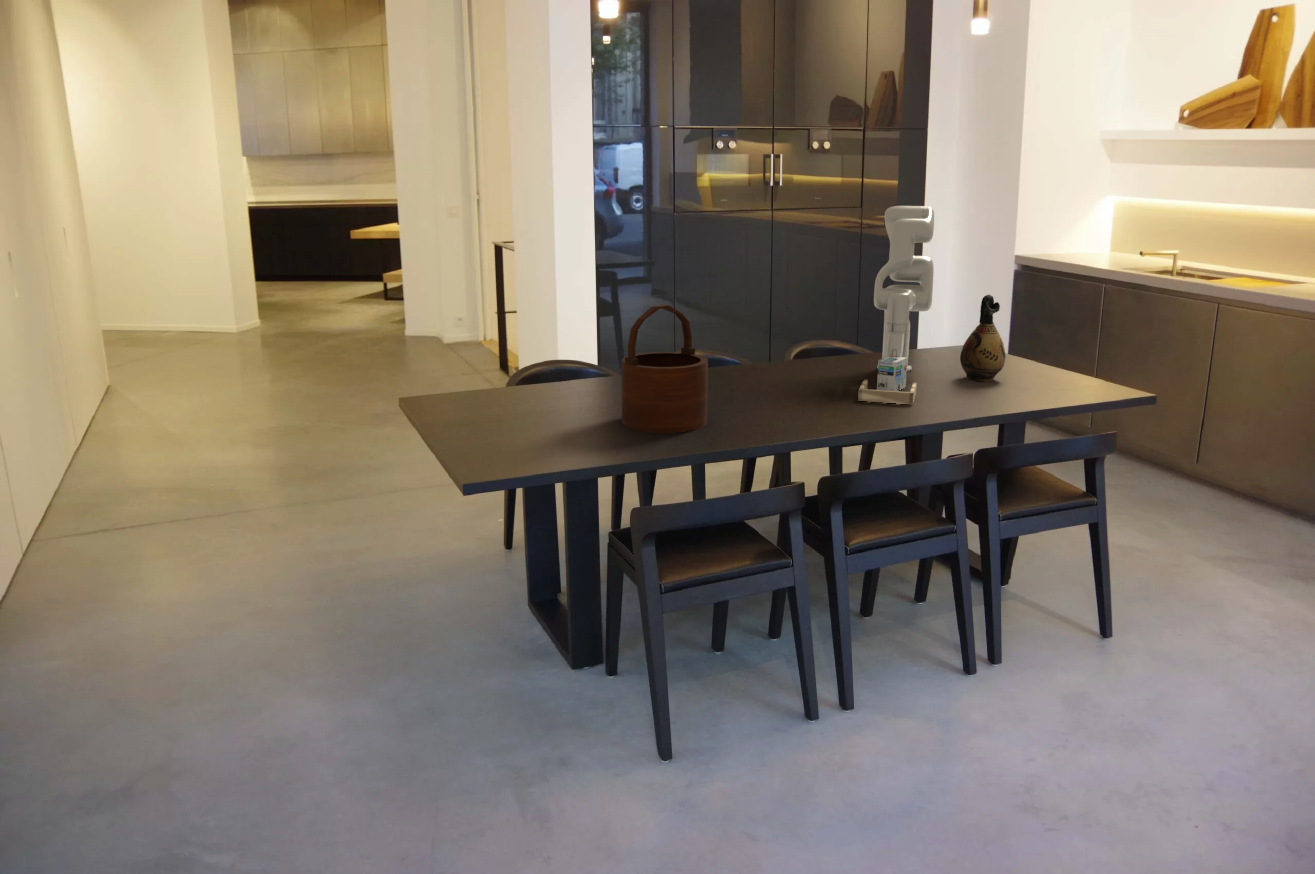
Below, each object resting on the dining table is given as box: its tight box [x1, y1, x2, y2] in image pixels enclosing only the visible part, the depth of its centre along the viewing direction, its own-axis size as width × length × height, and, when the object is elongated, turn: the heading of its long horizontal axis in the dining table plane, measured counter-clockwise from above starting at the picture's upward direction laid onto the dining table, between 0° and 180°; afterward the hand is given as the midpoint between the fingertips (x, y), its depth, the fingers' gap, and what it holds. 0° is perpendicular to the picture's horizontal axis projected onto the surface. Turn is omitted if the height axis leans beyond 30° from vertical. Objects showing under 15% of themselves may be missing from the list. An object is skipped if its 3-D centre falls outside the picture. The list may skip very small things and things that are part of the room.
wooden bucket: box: [621, 304, 709, 434], centre depth 304 cm, size 26×26×35 cm
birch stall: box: [857, 379, 918, 406], centre depth 339 cm, size 16×17×4 cm
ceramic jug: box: [959, 294, 1007, 383], centre depth 365 cm, size 17×15×30 cm
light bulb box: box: [876, 356, 909, 391], centre depth 350 cm, size 11×7×11 cm, turn 146°
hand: (893, 379), depth 360 cm, fingers closed
